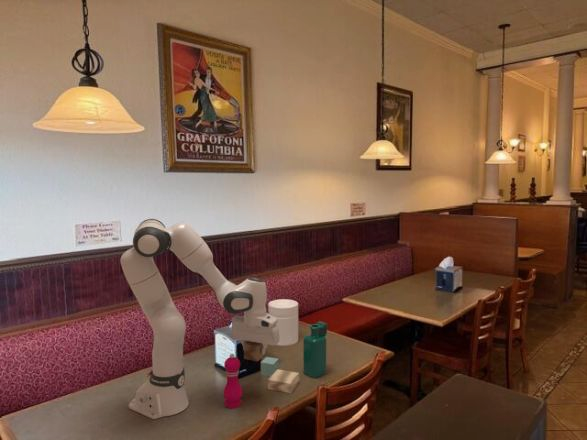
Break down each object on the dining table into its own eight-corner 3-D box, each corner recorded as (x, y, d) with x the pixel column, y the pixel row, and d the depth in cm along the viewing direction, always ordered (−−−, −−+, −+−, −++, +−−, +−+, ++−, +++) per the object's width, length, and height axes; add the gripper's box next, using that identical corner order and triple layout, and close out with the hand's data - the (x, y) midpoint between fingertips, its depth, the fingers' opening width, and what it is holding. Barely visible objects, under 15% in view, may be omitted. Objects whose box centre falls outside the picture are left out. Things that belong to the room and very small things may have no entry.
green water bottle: (314, 379, 179) (314, 330, 177) (301, 372, 185) (301, 324, 183) (330, 372, 185) (330, 324, 183) (317, 365, 192) (317, 319, 189)
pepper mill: (238, 409, 155) (237, 358, 153) (220, 407, 157) (219, 357, 155) (244, 399, 162) (244, 350, 160) (227, 397, 164) (226, 349, 162)
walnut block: (243, 358, 164) (244, 344, 163) (250, 353, 169) (251, 338, 169) (257, 361, 161) (258, 346, 161) (264, 355, 167) (264, 341, 167)
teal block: (260, 375, 183) (260, 362, 182) (266, 369, 188) (266, 356, 188) (273, 377, 181) (273, 364, 180) (278, 371, 186) (278, 358, 186)
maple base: (268, 388, 171) (267, 379, 170) (277, 378, 180) (277, 369, 179) (290, 393, 167) (290, 383, 167) (299, 382, 176) (299, 373, 176)
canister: (302, 336, 228) (302, 300, 226) (292, 347, 213) (291, 309, 211) (275, 332, 233) (275, 298, 231) (263, 343, 218) (263, 306, 216)
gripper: (228, 316, 165) (227, 350, 166) (275, 324, 157) (274, 359, 159) (235, 312, 171) (235, 345, 172) (281, 319, 163) (280, 353, 165)
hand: (254, 352), depth 165 cm, fingers closed on walnut block, 6 cm apart
